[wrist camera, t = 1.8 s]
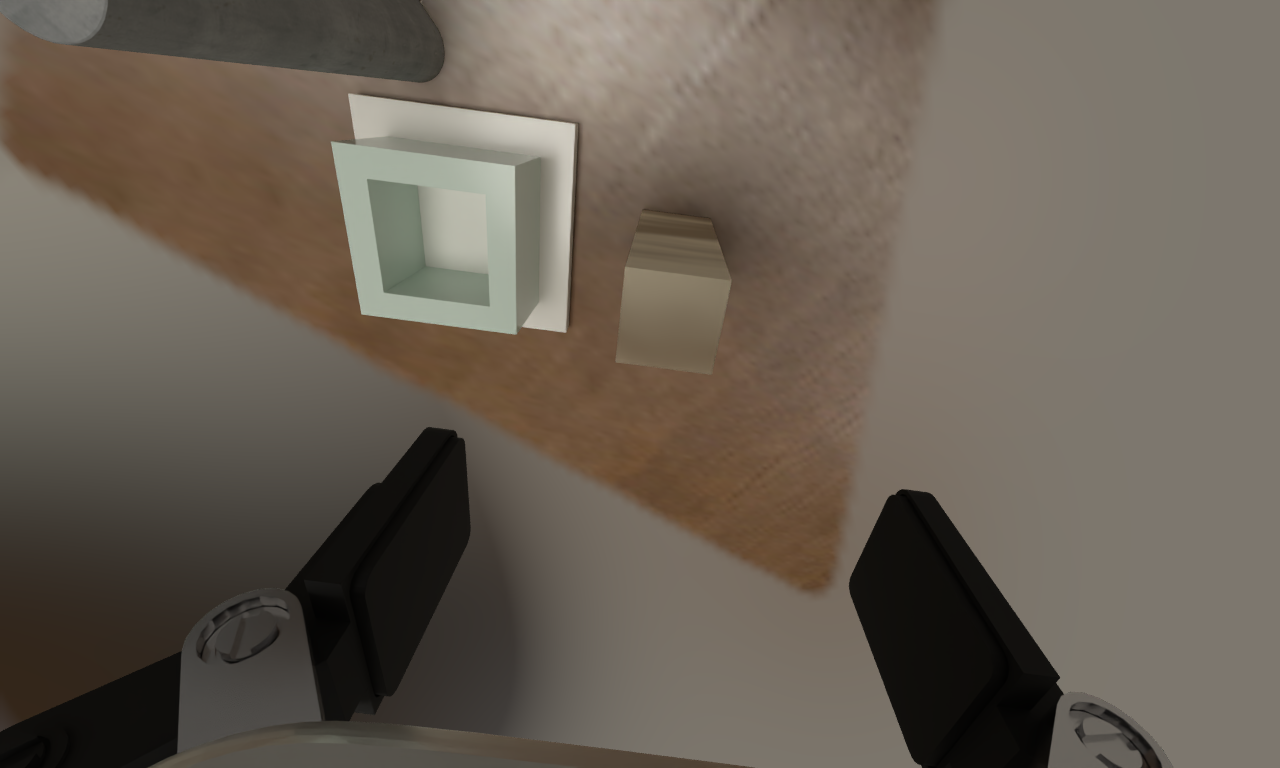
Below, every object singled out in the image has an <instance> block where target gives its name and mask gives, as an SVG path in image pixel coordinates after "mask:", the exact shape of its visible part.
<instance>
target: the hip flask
mask: <svg viewBox="0 0 1280 768" xmlns="http://www.w3.org/2000/svg"><path fill="white" fill-rule="evenodd" d="M0 12H1V13H2V14H3V15H4V16H5V17H6V18H8V19H9V20H10V21H12V22H13V23H15V24H16V25H17V26H19V27H20V28H22V29H23V30H25V31H27V32H29V33H31V34H33V35H34V36H36V37H38V38H41V39H44V40H47V41H50V42H53V43H58V44H66V45H75V46H84V47H93V48H103V49H112V50H122V51H131V52H140V53H150V54H159V55H168V56H178V57H187V58H196V59H206V60H215V61H224V62H234V63H243V64H252V65H262V66H271V67H280V68H290V69H299V70H308V71H318V72H327V73H336V74H346V75H355V76H364V77H374V78H383V79H392V80H402V81H411V82H427V81H429V80H432V79H433V78H434V77H436V75H437V74H438V73H439V72H440V70H441V68H442V65H443V62H444V45H443V41H442V38H441V35H440V33H439V31H438V29H437V27H436V26H435V24H434V23H433V21H432V20H431V18H430V17H429V15H428V14H427V12H426V11H425V9H424V8H423V6H422V5H421V3H420V1H419V0H0Z"/></svg>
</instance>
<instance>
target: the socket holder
mask: <svg viewBox="0 0 1280 768" xmlns="http://www.w3.org/2000/svg"><path fill="white" fill-rule="evenodd" d="M348 95H349V102H350V108H351V115H352V121H353V128H354V134H355V139H353V140H342V141H332V142H331V144H332V150H333V155H334V161H335V167H336V172H337V178H338V184H339V189H340V195H341V201H342V206H343V212H344V218H345V223H346V229H347V235H348V240H349V246H350V252H351V257H352V263H353V268H354V274H355V280H356V285H357V291H358V297H359V302H360V308H361V314H364V315H371V316H379V317H386V318H394V319H402V320H409V321H417V322H425V323H432V324H440V325H447V326H455V327H463V328H470V329H478V330H486V331H493V332H501V333H508V334H516V335H517V333H518V332H519V330H520V329H521V327H527V328H535V329H542V330H550V331H558V332H565V333H566V331H567V329H568V327H569V311H570V290H571V269H572V248H573V227H574V206H575V185H576V164H577V143H578V123H571V122H563V121H556V120H548V119H541V118H533V117H526V116H519V115H511V114H504V113H496V112H489V111H481V110H474V109H466V108H459V107H451V106H444V105H436V104H429V103H421V102H414V101H407V100H399V99H392V98H384V97H377V96H369V95H362V94H348Z"/></svg>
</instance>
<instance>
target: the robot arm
mask: <svg viewBox="0 0 1280 768" xmlns="http://www.w3.org/2000/svg"><path fill="white" fill-rule="evenodd" d="M469 536H470V513H469V498H468V483H467V467H466V453H465V441H464V439H462V438H457V433H456V431H454V430H447V429H440V428H432V427H428V428H426V429H425V430H424V431H423V432H422V433H421V435H420V436H419V437H418V438H417V440H416V441H415V442H414V443H413V444H412V446H411V447H410V448H409V449H408V451H407V452H406V453H405V455H404V456H403V457H402V458H401V460H400V461H399V462H398V463H397V465H396V466H395V467H394V468H393V469H392V471H391V472H390V473H389V474H388V476H387V477H386V478H385V480H384V481H383V482H382V483H376V484H374V485H372V486H371V487H370V488H369V489H368V490H367V491H366V492H365V493H364V495H363V496H362V497H361V498H360V499H359V501H358V502H357V503H356V504H355V506H354V507H353V508H352V509H351V510H350V512H349V513H348V514H347V515H346V516H345V518H344V519H343V520H342V521H341V522H340V524H339V525H338V526H337V527H336V529H335V530H334V531H333V532H332V533H331V535H330V536H329V537H328V538H327V539H326V541H325V542H324V543H323V544H322V546H321V547H320V548H319V549H318V550H317V552H316V553H315V554H314V555H313V556H312V558H311V559H310V560H309V561H308V563H307V564H306V565H305V566H304V567H303V568H302V570H301V571H300V572H299V573H298V575H297V576H296V577H295V578H294V580H293V581H292V582H291V583H290V584H289V585H288V587H287V588H286V589H285V590H282V589H277V588H269V589H258V590H255V591H251V592H247V593H243V594H240V595H238V596H236V597H234V598H232V599H229V600H227V601H225V602H223V603H222V604H220V605H219V606H217V607H216V608H214V609H213V610H211V611H210V612H208V613H207V614H206V615H205V616H204V617H203V618H202V619H201V620H200V621H199V622H198V623H197V624H196V625H195V626H194V627H193V629H192V630H191V632H190V633H189V635H188V636H187V638H186V639H185V642H184V646H183V650H182V651H181V652H179V653H176V654H174V655H172V656H170V657H167V658H165V659H163V660H160V661H158V662H156V663H154V664H152V665H149V666H147V667H145V668H142V669H140V670H138V671H135V672H133V673H131V674H129V675H126V676H124V677H122V678H120V679H117V680H115V681H113V682H110V683H108V684H106V685H104V686H101V687H99V688H97V689H95V690H92V691H90V692H88V693H85V694H83V695H81V696H79V697H76V698H74V699H72V700H69V701H67V702H65V703H63V704H61V705H58V706H56V707H54V708H51V709H49V710H47V711H45V712H42V713H40V714H38V715H35V716H33V717H31V718H29V719H26V720H24V721H22V722H20V723H17V724H15V725H13V726H11V727H9V728H7V729H5V730H3V731H1V732H0V768H753V767H745V766H738V765H730V764H723V763H714V762H707V761H699V760H691V759H684V758H676V757H668V756H660V755H652V754H644V753H636V752H629V751H621V750H613V749H605V748H596V747H588V746H580V745H572V744H564V743H556V742H548V741H538V740H531V739H522V738H515V737H506V736H499V735H491V734H482V733H474V732H463V731H455V730H444V729H435V728H426V727H416V726H406V725H397V724H387V723H370V722H350V719H351V717H352V715H353V713H354V712H356V713H364V714H372V715H375V713H376V711H377V709H378V707H379V705H380V703H381V701H382V699H383V697H384V696H392V695H393V694H394V693H395V691H396V690H397V688H398V686H399V684H400V682H401V679H402V678H403V676H404V674H405V672H406V669H407V667H408V665H409V663H410V661H411V659H412V657H413V655H414V653H415V651H416V648H417V646H418V645H419V643H420V641H421V639H422V636H423V634H424V632H425V630H426V628H427V626H428V624H429V622H430V620H431V618H432V616H433V614H434V612H435V609H436V607H437V605H438V603H439V601H440V599H441V597H442V595H443V593H444V591H445V589H446V587H447V585H448V583H449V581H450V579H451V576H452V574H453V572H454V570H455V568H456V566H457V564H458V562H459V560H460V558H461V556H462V554H463V552H464V550H465V548H466V546H467V543H468V540H469ZM849 590H850V595H851V597H852V600H853V603H854V605H855V608H856V611H857V614H858V616H859V619H860V622H861V624H862V626H863V630H864V632H865V635H866V638H867V640H868V643H869V646H870V648H871V651H872V654H873V656H874V659H875V662H876V664H877V667H878V669H879V672H880V675H881V678H882V680H883V682H884V685H885V688H886V691H887V694H888V696H889V699H890V702H891V704H892V707H893V709H894V712H895V715H896V717H897V720H898V723H899V725H900V728H901V731H902V734H903V736H904V739H905V742H906V744H907V747H908V750H909V752H910V754H911V756H912V758H913V760H914V761H915V762H916V763H917V764H919V765H921V766H922V768H1173V766H1172V764H1171V762H1170V761H1169V759H1168V757H1167V756H1166V754H1165V753H1164V750H1163V749H1162V748H1161V747H1160V746H1159V745H1158V744H1157V742H1156V741H1155V740H1154V739H1153V737H1152V736H1151V735H1150V734H1149V733H1148V732H1147V731H1146V730H1145V729H1144V728H1142V727H1141V726H1140V725H1139V724H1138V723H1137V722H1136V721H1135V720H1134V719H1132V718H1131V717H1130V716H1128V715H1127V714H1125V713H1124V712H1122V711H1121V710H1120V709H1118V708H1117V707H1115V706H1113V705H1112V704H1110V703H1108V702H1106V701H1104V700H1102V699H1100V698H1098V697H1095V696H1092V695H1088V694H1085V693H1079V692H1069V693H1067V694H1063V692H1062V691H1061V690H1060V688H1059V686H1058V685H1057V684H1056V682H1057V681H1058V680H1059V679H1060V677H1059V675H1058V674H1057V672H1056V671H1055V670H1054V668H1053V667H1052V665H1051V664H1050V662H1049V661H1048V659H1047V658H1046V657H1045V655H1044V654H1043V652H1042V651H1041V649H1040V648H1039V646H1038V645H1037V644H1036V642H1035V641H1034V639H1033V638H1032V636H1031V635H1030V634H1029V632H1028V631H1027V629H1026V628H1025V626H1024V625H1023V623H1022V622H1021V621H1020V619H1019V618H1018V616H1017V615H1016V613H1015V612H1014V611H1013V609H1012V608H1011V606H1010V605H1009V603H1008V602H1007V601H1006V599H1005V598H1004V596H1003V595H1002V593H1001V592H1000V591H999V589H998V588H997V586H996V585H995V583H994V582H993V580H992V579H991V578H990V576H989V575H988V573H987V572H986V570H985V569H984V567H983V566H982V565H981V563H980V562H979V560H978V559H977V557H976V556H975V555H974V553H973V552H972V550H971V549H970V547H969V546H968V545H967V543H966V542H965V540H964V539H963V537H962V536H961V535H960V533H959V532H958V530H957V529H956V527H955V526H954V524H953V523H952V522H951V520H950V519H949V517H948V516H947V514H946V513H945V512H944V510H943V509H942V507H941V506H940V504H939V503H938V501H937V500H936V499H935V497H934V496H933V495H932V494H930V493H927V492H920V491H913V490H904V489H902V490H899V491H898V492H897V493H896V495H891V496H889V498H888V499H887V501H886V503H885V505H884V508H883V509H882V512H881V514H880V516H879V518H878V520H877V522H876V524H875V526H874V528H873V531H872V533H871V535H870V537H869V539H868V541H867V543H866V545H865V548H864V550H863V552H862V554H861V556H860V558H859V560H858V562H857V564H856V567H855V569H854V571H853V573H852V575H851V577H850V582H849Z"/></svg>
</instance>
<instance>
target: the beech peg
mask: <svg viewBox="0 0 1280 768" xmlns="http://www.w3.org/2000/svg"><path fill="white" fill-rule="evenodd" d="M731 283H732V280H731V277H730V274H729V271H728V268H727V265H726V262H725V259H724V256H723V254H722V251H721V248H720V245H719V242H718V239H717V236H716V233H715V230H714V228H713V225H712V222H711V219H710V218H703V217H695V216H688V215H680V214H673V213H665V212H658V211H650V210H642V213H641V217H640V220H639V223H638V226H637V230H636V233H635V236H634V240H633V243H632V246H631V249H630V253H629V256H628V259H627V263H626V266H625V274H624V283H623V293H622V303H621V313H620V322H619V332H618V342H617V351H616V361H615V362H618V363H626V364H634V365H641V366H649V367H657V368H664V369H672V370H679V371H687V372H695V373H702V374H710V375H712V371H713V366H714V362H715V357H716V352H717V348H718V343H719V339H720V334H721V329H722V325H723V320H724V315H725V311H726V306H727V301H728V297H729V292H730V288H731Z"/></svg>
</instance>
